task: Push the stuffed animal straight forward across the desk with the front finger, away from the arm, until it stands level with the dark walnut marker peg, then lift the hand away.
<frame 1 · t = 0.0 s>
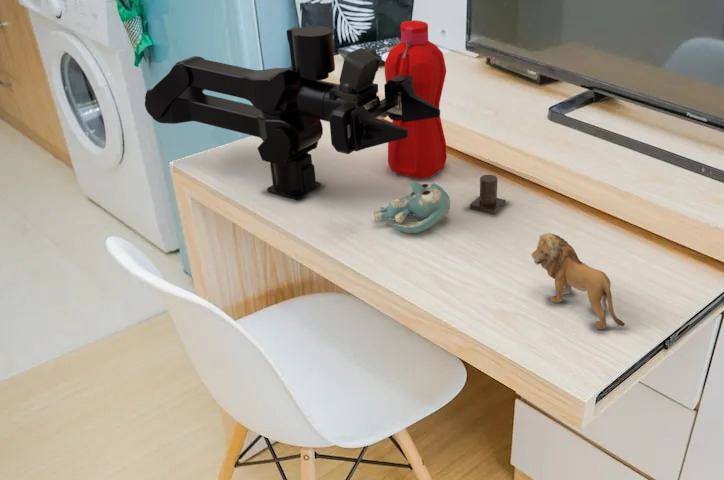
hand: (424, 123, 114), 17 cm above the table, tool horizontal, fingers open, 9 cm apart
lion figurine: (573, 307, 106), on the table
water bottle: (415, 171, 139), on the table
marker peg: (487, 206, 129), on the table
stuffed animal: (412, 222, 124), on the table
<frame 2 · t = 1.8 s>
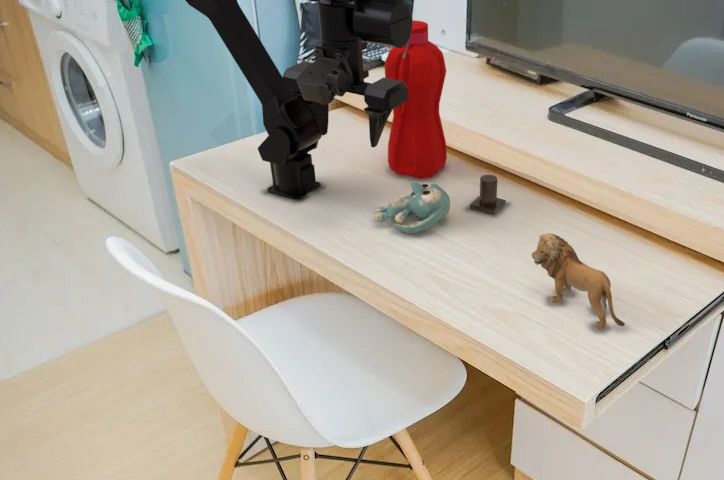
hand: (348, 140, 121), 11 cm above the table, tool pointing down, fingers open, 9 cm apart
nothing on the table moved.
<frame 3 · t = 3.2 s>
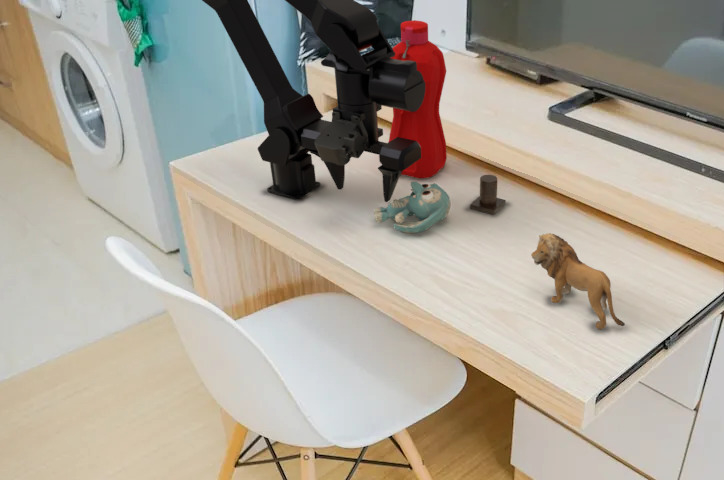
hand: (363, 195, 126), 2 cm above the table, tool pointing down, fingers open, 8 cm apart
stuffed animal: (412, 222, 124), on the table, touching gripper
everything else where it was.
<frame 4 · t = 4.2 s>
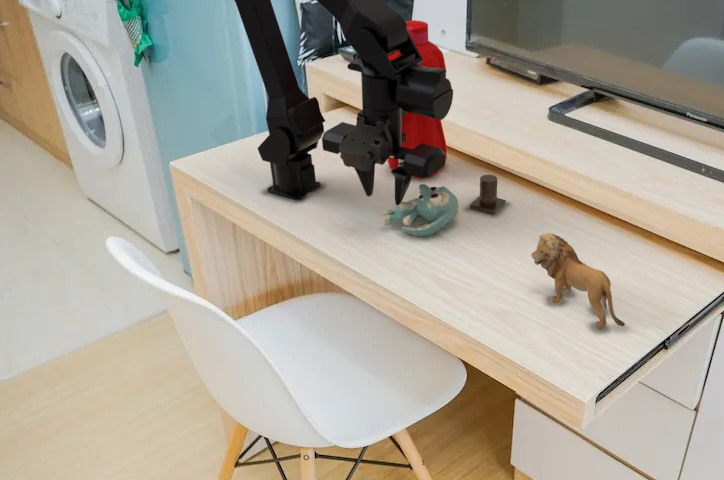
hand: (384, 200, 124), 2 cm above the table, tool pointing down, fingers open, 5 cm apart
stuffed animal: (420, 225, 124), on the table, touching gripper
everything else where it was.
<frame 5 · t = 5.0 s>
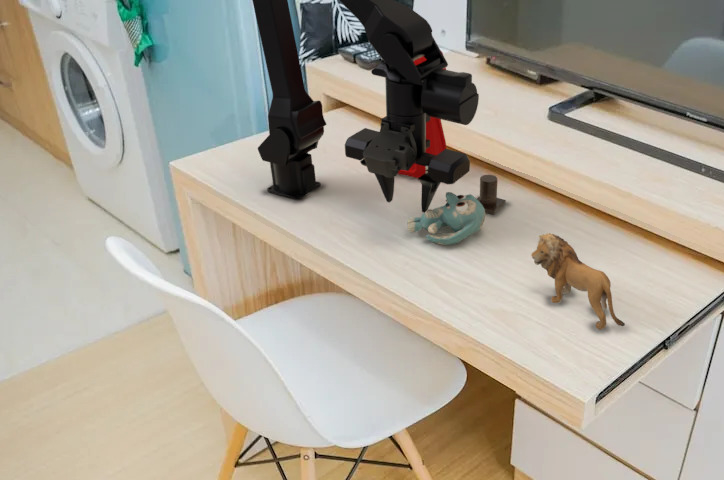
hand: (407, 206, 123), 2 cm above the table, tool pointing down, fingers open, 6 cm apart
stuffed animal: (446, 233, 122), on the table, touching gripper
everything else where it was.
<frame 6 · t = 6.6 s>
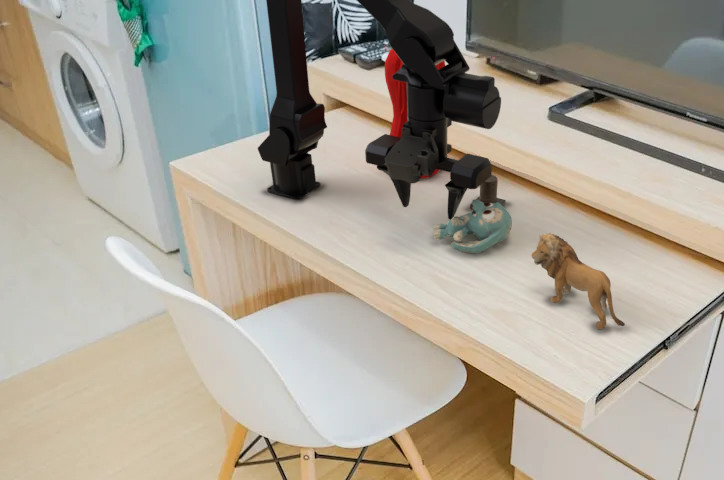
hand: (428, 212, 122), 2 cm above the table, tool pointing down, fingers open, 8 cm apart
stuffed animal: (472, 241, 120), on the table, touching gripper
everything else where it was.
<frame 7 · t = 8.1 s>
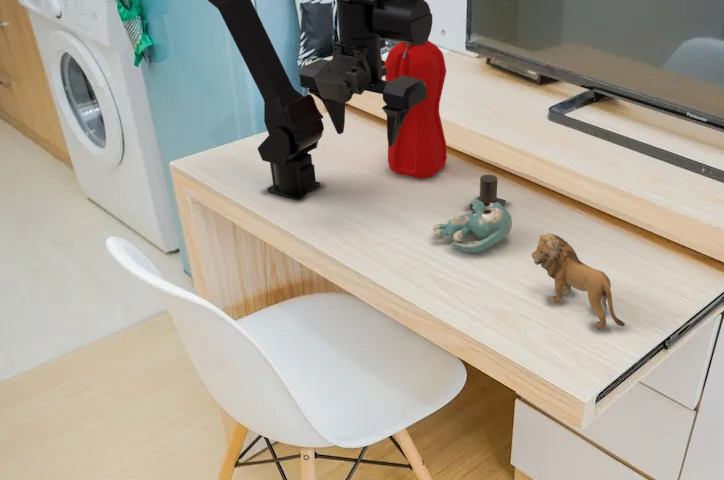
hand: (365, 139, 120), 12 cm above the table, tool pointing down, fingers open, 9 cm apart
stuffed animal: (472, 241, 120), on the table
everything else where it was.
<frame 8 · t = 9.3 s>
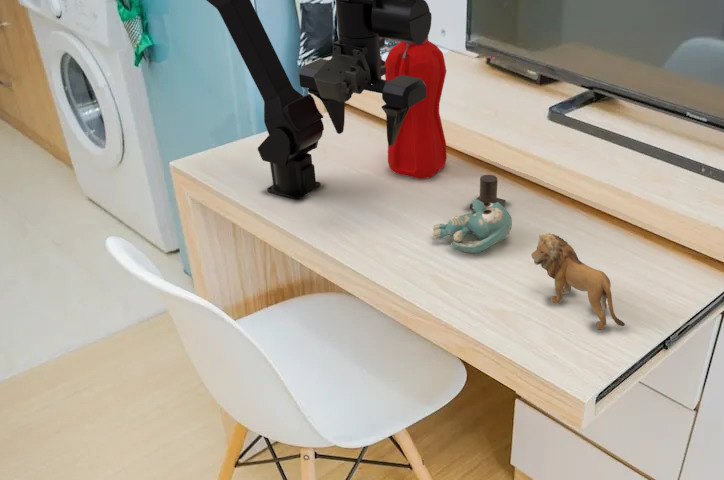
hand: (365, 138, 120), 12 cm above the table, tool pointing down, fingers open, 9 cm apart
nothing on the table moved.
at the end: stuffed animal inside the target area (2.7 cm from its centre), on the table; stuffed animal moved 10.9 cm from its start; stuffed animal tilted 0° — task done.
